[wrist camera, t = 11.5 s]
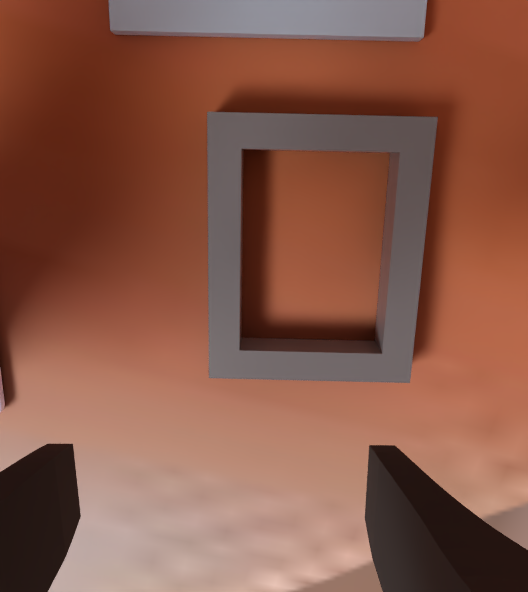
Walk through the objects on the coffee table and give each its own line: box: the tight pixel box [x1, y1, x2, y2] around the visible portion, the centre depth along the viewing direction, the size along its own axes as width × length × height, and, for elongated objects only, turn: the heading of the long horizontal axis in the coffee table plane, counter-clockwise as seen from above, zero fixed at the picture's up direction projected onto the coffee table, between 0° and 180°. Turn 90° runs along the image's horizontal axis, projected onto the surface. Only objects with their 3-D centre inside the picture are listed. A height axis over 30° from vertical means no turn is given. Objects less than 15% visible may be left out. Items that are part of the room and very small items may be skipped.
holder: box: [207, 112, 438, 383], centre depth 19 cm, size 8×10×2 cm
